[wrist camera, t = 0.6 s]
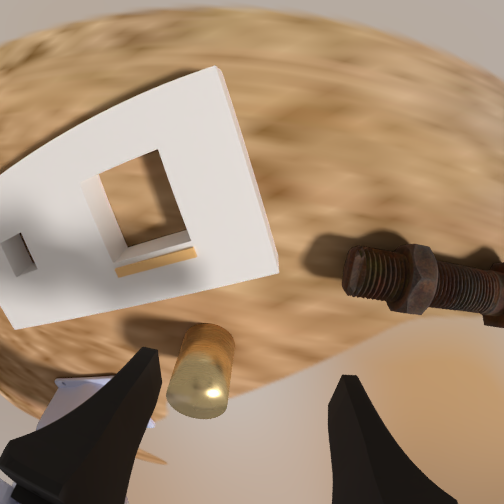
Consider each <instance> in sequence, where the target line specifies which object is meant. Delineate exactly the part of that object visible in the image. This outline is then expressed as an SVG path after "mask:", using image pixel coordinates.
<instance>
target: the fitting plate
mask: <svg viewBox="0 0 504 504" xmlns="http://www.w3.org/2000/svg"><path fill="white" fill-rule="evenodd" d="M157 149H158V151H159V154H160V157H161V160H162V162H163V165H164V168H165V171H166V174H167V177H168V179H169V182H170V185H171V188H172V191H173V193H174V196H175V199H176V202H177V204H178V207H179V210H180V212H181V215H182V218H183V220H184V223H185V226H186V228H187V230H184V231H181V232H178V233H174V234H171V235H167V236H164V237H161V238H157V239H154V240H151V241H147V242H144V243H141V244H137V245H134V246H131V247H127V244H126V242H125V240H124V237H123V235H122V233H121V230H120V228H119V226H118V223H117V221H116V218H115V216H114V213H113V211H112V208H111V206H110V203H109V201H108V198H107V196H106V193H105V191H104V188H103V185H102V183H101V180H100V177H99V175H98V174H99V173H102V172H104V171H106V170H108V169H111V168H113V167H115V166H118V165H120V164H122V163H125V162H127V161H130V160H132V159H134V158H137V157H139V156H142V155H144V154H147V153H149V152H152V151H155V150H157ZM19 233H21V234H22V236H23V238H24V240H25V243H26V245H27V247H28V249H29V251H30V254H31V256H32V258H33V260H34V262H35V263H33V262H32V260H31V258H30V256H29V254H28V252H27V250H26V247H25V245H24V243H23V241H22V238H21V236H20V234H19ZM277 273H279V263H278V253H277V250H276V247H275V243H274V240H273V236H272V233H271V229H270V226H269V222H268V219H267V216H266V212H265V209H264V205H263V202H262V199H261V195H260V192H259V189H258V185H257V182H256V179H255V175H254V172H253V169H252V166H251V162H250V159H249V156H248V152H247V149H246V146H245V143H244V140H243V136H242V133H241V130H240V127H239V123H238V120H237V117H236V114H235V111H234V108H233V104H232V101H231V98H230V95H229V92H228V89H227V86H226V83H225V79H224V76H223V73H222V71H221V70H220V69H219V68H218V67H217V66H212V67H209V68H206V69H203V70H200V71H197V72H195V73H192V74H189V75H186V76H184V77H181V78H178V79H176V80H173V81H170V82H168V83H165V84H163V85H160V86H158V87H156V88H153V89H151V90H148V91H146V92H144V93H142V94H139V95H137V96H135V97H133V98H130V99H128V100H126V101H124V102H122V103H120V104H118V105H116V106H114V107H111V108H109V109H107V110H105V111H103V112H101V113H100V114H98V115H96V116H94V117H92V118H90V119H88V120H86V121H84V122H83V123H81V124H79V125H77V126H75V127H73V128H72V129H70V130H68V131H66V132H65V133H63V134H61V135H60V136H58V137H56V138H55V139H53V140H51V141H50V142H48V143H46V144H45V145H43V146H42V147H40V148H39V149H37V150H35V151H34V152H32V153H31V154H29V155H28V156H26V157H25V158H23V159H22V160H20V161H19V162H18V163H16V164H15V165H13V166H12V167H10V168H9V169H8V170H6V171H5V172H3V173H2V174H1V175H0V306H1V307H2V309H3V311H4V313H5V314H6V316H7V318H8V319H9V321H10V323H11V324H12V326H13V328H14V329H15V330H16V329H21V328H27V327H32V326H37V325H43V324H48V323H53V322H58V321H63V320H68V319H74V318H79V317H84V316H89V315H93V314H98V313H103V312H108V311H113V310H118V309H122V308H127V307H132V306H137V305H141V304H146V303H151V302H155V301H160V300H164V299H169V298H174V297H178V296H183V295H187V294H191V293H196V292H200V291H205V290H209V289H213V288H218V287H222V286H226V285H231V284H235V283H239V282H244V281H248V280H252V279H256V278H260V277H265V276H269V275H273V274H277Z"/></svg>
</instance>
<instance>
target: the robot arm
mask: <svg viewBox="0 0 504 504" xmlns="http://www.w3.org/2000/svg"><path fill="white" fill-rule="evenodd" d="M55 384H56V385H57V386H58V389H57V391H56V393H55V394H54V396H53V398H52V399H51V401H50V403H49V405H48V406H47V408H46V410H45V411H44V413H43V415H42V417H41V418H40V420H39V422H38V425H37V428H36V431H34V432H32V433H30V434H27V435H25V436H22V437H19V438H16V439H13V440H10V441H9V443H8V444H7V446H6V447H5V449H4V451H3V453H2V455H1V457H0V469H1V470H2V471H3V472H4V473H5V474H6V475H8V477H10V478H11V479H12V480H13V481H14V482H13V484H12V486H10V485H9V484H7V483H6V482H5V481H3V480H2V479H0V504H129V502H128V499H127V496H126V493H127V488H128V484H129V479H130V475H131V471H132V467H133V464H134V460H135V456H136V453H137V450H138V447H139V444H140V442H141V440H142V437H143V435H144V433H145V430H146V428H154V427H155V423H154V421H153V420H152V419H151V416H152V413H153V411H154V408H155V406H156V403H157V399H158V396H159V392H160V389H161V385H162V378H161V371H160V364H159V357H158V350H155V349H151V348H146V347H142V348H141V349H140V350H139V351H138V352H137V353H136V354H135V355H134V356H133V358H132V359H131V360H130V361H129V362H128V363H127V364H126V365H125V366H124V367H123V368H122V369H121V370H120V371H119V372H118V373H117V374H116V375H115V376H102V377H85V378H57V379H56V380H55ZM328 433H329V443H330V451H331V462H332V472H333V493H332V504H458V502H457V500H456V499H454V498H453V497H451V496H450V495H449V494H447V493H446V492H444V491H443V490H442V489H440V488H439V487H438V486H437V485H436V484H435V483H433V482H432V481H431V480H430V479H429V478H428V477H427V476H426V475H425V474H424V473H422V471H421V470H420V469H419V468H418V467H417V466H416V465H415V464H414V463H413V462H412V461H411V460H410V459H409V457H408V456H407V455H406V454H405V453H404V451H403V450H402V449H401V448H400V446H399V445H398V444H397V442H396V441H395V439H394V438H393V437H392V435H391V434H390V432H389V431H388V429H387V428H386V426H385V425H384V423H383V421H382V420H381V418H380V416H379V415H378V413H377V411H376V410H375V408H374V406H373V405H372V402H371V401H370V399H369V397H368V395H367V393H366V392H365V390H364V388H363V386H362V384H361V382H360V380H359V378H358V377H357V376H356V375H342V376H341V378H340V381H339V383H338V385H337V387H336V389H335V392H334V394H333V396H332V398H331V401H330V402H329V405H328Z"/></svg>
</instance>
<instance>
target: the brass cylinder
mask: <svg viewBox="0 0 504 504" xmlns="http://www.w3.org/2000/svg"><path fill="white" fill-rule="evenodd" d="M234 348H235V343H234V339H233V337H232V336H231V334H230V333H229V332H228V331H227V330H225V329H224V328H222V327H220V326H218V325H214V324H209V323H202V324H197V325H195V326H193V327H191V328H190V329H189V330H188V331H187V332H186V334H185V337H184V340H183V343H182V346H181V349H180V352H179V355H178V358H177V361H176V364H175V367H174V370H173V373H172V377H171V380H170V383H169V386H168V389H167V393H166V397H167V400H168V402H169V404H170V405H171V406H172V407H173V408H174V409H175V410H177V411H178V412H179V413H181V414H183V415H186V416H189V417H192V418H198V419H211V418H215V417H218V416H220V415H221V414H223V413H224V412H225V410H226V408H227V403H228V395H229V387H230V379H231V372H232V364H233V356H234Z"/></svg>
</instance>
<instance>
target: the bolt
mask: <svg viewBox="0 0 504 504" xmlns="http://www.w3.org/2000/svg"><path fill="white" fill-rule="evenodd" d="M342 287H343V290H344V291H345V292H346V294H347V295H348V296H349V295H350V296H351V295H352V297H355V296H357V297H362V298H365V297H366V298H367V299H370V298H371V299H376V300H381V301H386V302H387V305H388V307H389V309H390V310H391V311H395V312H401V313H408V314H417V315H422V314H423V312H424V311H425V310H426V309H427V308H428V307H432V308H434V307H435V308H442V309H449V310H461V311H468V312H474V313H480V314H482V315H483V321H484V325H487V326H493V327H500V328H504V262H503V263H494V264H493V265H492V268H491V270H487V271H486V270H481V269H476V268H471V267H467V266H462V265H457V264H452V263H447V262H442V261H437V260H436V259H435V256H434V254H433V253H432V251H431V249H430V247H427V246H423V245H418V244H407V245H402V246H400V247H398V248H397V249H396V251H395V252H390V251H385V250H380V249H375V248H372V249H371V248H370V247H365V246H363V247H361V246H360V245H358V246H356V247H353V248H351V249H350V250H349V252H348V256H347V259H346V262H345V266H344V271H343V279H342Z"/></svg>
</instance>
